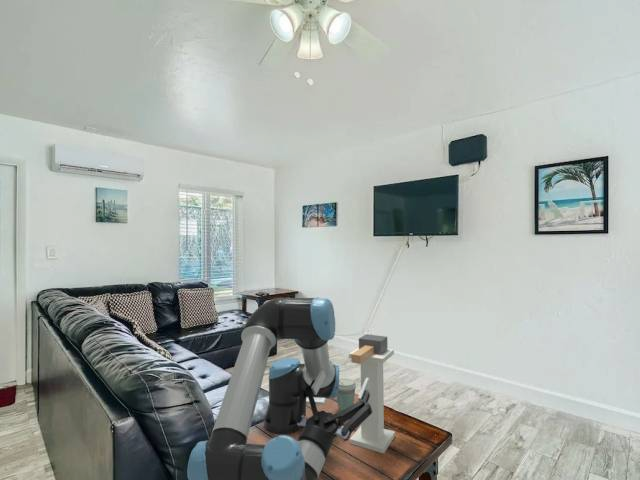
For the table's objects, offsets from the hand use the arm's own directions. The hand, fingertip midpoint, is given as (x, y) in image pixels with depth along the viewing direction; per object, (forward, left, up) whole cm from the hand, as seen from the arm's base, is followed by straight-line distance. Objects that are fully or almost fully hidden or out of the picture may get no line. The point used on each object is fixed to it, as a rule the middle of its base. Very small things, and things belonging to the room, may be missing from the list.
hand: (345, 376), depth 94 cm
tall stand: (+7, +26, -30) cm, 40 cm away
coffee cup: (-4, +45, -30) cm, 54 cm away
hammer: (+5, +21, 0) cm, 22 cm away
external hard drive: (-18, +56, -31) cm, 66 cm away
